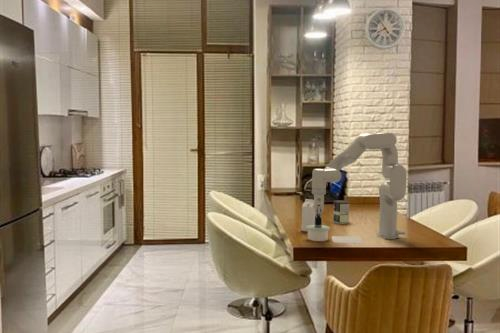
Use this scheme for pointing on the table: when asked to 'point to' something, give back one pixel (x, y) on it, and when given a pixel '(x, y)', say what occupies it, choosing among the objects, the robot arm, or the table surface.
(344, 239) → the mat
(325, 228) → the lid
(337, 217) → the coffee can
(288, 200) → the table surface
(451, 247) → the table surface
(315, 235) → the bowl
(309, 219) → the milk carton
